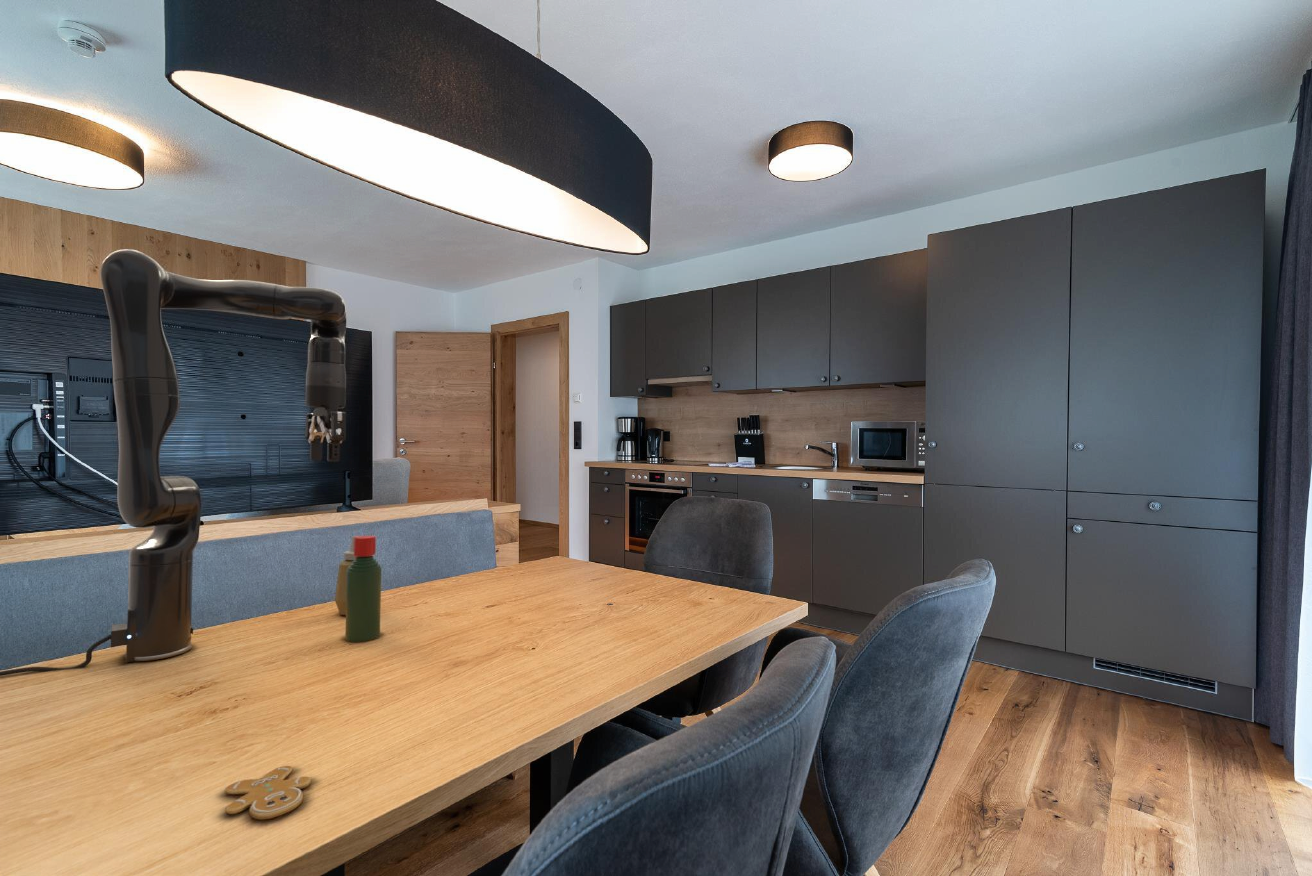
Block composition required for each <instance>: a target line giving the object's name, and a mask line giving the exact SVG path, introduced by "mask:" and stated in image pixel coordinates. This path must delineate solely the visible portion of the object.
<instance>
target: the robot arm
mask: <svg viewBox="0 0 1312 876" xmlns="http://www.w3.org/2000/svg"><path fill="white" fill-rule="evenodd" d="M99 277H100V281H101V286H102V290H103V294H104V298H105V303H106V307H107V312H108V317H109V322H110V339H111V340H110V346H111V363H112V385H113V395H114V404H115V410H116V411H115V412H116V420H117V421H116V422H117V437H118V438H117V439H118V463H117V464H118V465H117V466H118V467H117V489H116V491H117V492H116V493H117V495H116V497H117V507H118V511H119V515H120V516H121V518H122V520H123V521H124V522H125V523H126V524H127V525H129V526H130V527H132V528H136V529H145V528H153V529H152V533H151V534H150V535H149V536H148V537H147V538H146V539H145V540H143V541H142V542H140V543H138V544H136V545H135V546H133V547H132V548H131V549H130V551H129V554H128V586H127V587H128V589H127V590H128V591H127V613H126V615H127V616H126V622H124V623H117V624H111V629H110V634H109V635H107V636H105V637H103V638H101V639H100V640H98V641H96V642H94V643H93V644H91V646H89V647H88V649H87V651H86V654H85V660H84V661H83V662H81V663H79V664H78V665H74V666H71V667H50V666H29V667H28V666H27V667H21V668H14V669H6V670H1V671H0V677H2V676H9V675H14V674H23V673H29V672H54V671H62V670H74V669H81V668H85V667H87V666H88V665H89V664H91V661H92V660H93V659H92V658H93V651H94V650H95V649H96V648H97V647H99V646H100V645H103V644H104V643H106V642H108V641H109V640H110V648H115V647H122V646H125V647H126V648H125V649H126V651H125V663H134V662H150V661H157V660H163V659H167V658H171V657H175V656H179V655H182V654H185V653H186V652H188V651H190V650H191V649H192V635H194V628H193V627H192V619H193V618H192V615H193V583H194V582H193V579H194V578H193V577H194V551H195V549H196V548H197V545H198V543H199V538H200V528H201V516H202V506H203V505H202V493H201V490H200V487H199V486H198V484H197V482H196V481H195V480H193V479H192V478H190V477H189V476H185V475H164V476H163V475H162V476H161V470H160V452H161V447H162V444H163V442H164V440H165V437H166V435H167V434H168V432H169V431H170V429H171V427H172V425H173V424H174V422H175V420H176V419H177V416H178V415H179V411H180V406H181V397H180V386H179V377H178V371H177V367H176V364H175V360H174V358H173V354H172V352H171V349H170V345H169V343H168V340H167V338H166V335H165V332H164V328H163V323H162V322H163V321H162V310H198V311H213V312H222V313H231V314H237V315H238V314H239V315H246V316H252V317H253V316H254V317H260V318H269V319H276V320H291V319H301V320H310V338H309V340H308V345H307V364H306V365H307V367H306V372H305V395H304V396H305V400H304V402H305V403H304V405H305V407H308V408H312V409H313V412H307V413H306V414H305V431H304V432H305V433H304V438H305V439H304V440H305V441H308V443H309V444H310V446H309V449H310V450H309V459H310V461H312V462H314V461H315V462H316V461H317V462H320V461H322V460H323V446H324V445H323V442H324V438H325V439H326V442H327V447H326V448H327V449H326V460H327V462H331V463H332V462H334V463H335V462H339V461H340V460H341V444H342V443H343V441H346V439H347V413H346V412H345V411H339V409H344V408H346V402H347V401H346V400H347V371H346V343H345V340H346V333H347V332H346V331H347V321H348V320H347V319H348V312H347V306H346V302H345V300H344V298H343V297H342V296H341V295H340V294H338V293H337V292H336V291H333V290H332V289H331V290H330V289H326V288H321V287H312V286H311V287H310V286H286V285H282V284H276V283H271V282H263V281H258V280H257V281H256V280H249V279H248V280H246V279H223V280H211V279H200V278H195V277H189V276H185V275H181V274H176V273H173V272H170V271H167V270H165V269H164V268H163V267H162V266H161V265H160V264H159V263H158V262H157V261H156V260H155V259H153V257H150V256H149V255H147V254H145V253H143V252H141V251H138V250H135V249H129V248H128V249H119V250H116V251H114V252H112V253H109V255H108V256H107V257H106V258H105V259H104V260H103V262H102V264H101V265H100V271H99Z"/></svg>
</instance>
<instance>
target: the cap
mask: <svg viewBox="0 0 1312 876" xmlns="http://www.w3.org/2000/svg"><path fill="white" fill-rule="evenodd" d="M356 536H357V537H354V556H358V557H364V556H375V555H376V544H377V543H376V541H377V539H376V535H356Z"/></svg>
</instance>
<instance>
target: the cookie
mask: <svg viewBox="0 0 1312 876" xmlns="http://www.w3.org/2000/svg"><path fill="white" fill-rule="evenodd" d="M293 770H294V766H291V765H284V766H279V767H276V768H274V769H272V770H271V771H269V772H268V773H266V774H265V775H264V776H262V777H260V778H252V779H251V778H250V779H243V780H238V781H235V782H233V783H232V784H230V785H228V786H227V787H225V789H224V793H225V794H227V795H243V796H240V797H239V798H237V799H235V800H234V801H232V802H231V803H229V804H228V805H227V806H226V807H225V808H224V811H225V813H226V814H228V815H235V814H238V813H241V812H243V811H245V810H246V809H248V808H249V810H248V813H249V816H250V817H252V818H253V819H255V820H269V819H273V818H277V817H280V816H282V815H284V814H288V813H289V812H291V811H293V810H295V809H296V808H297V807H299V806H300V805H301V803H302V802H303V799H304V793H303V791H302V790H301V789H305V788H307V787H308V786H309V785H310V784H311V783H312V777H310V776H299V777H294V778H289V779H286V778H287V777H288V776H289V775H290V774H291V773H292V772H293Z"/></svg>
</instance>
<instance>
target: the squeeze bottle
mask: <svg viewBox="0 0 1312 876" xmlns="http://www.w3.org/2000/svg"><path fill="white" fill-rule="evenodd" d="M357 536H358V535H352V538H351V542H350V546H349V548H348V550H346V551H344V552H343V560H342V561H341V562H340V563H339V564H338V572H337V579H336V588H335V595H334V602H335V605H336V607H337V610H338V613H339V614H340V615H342V616H346V583H347V570H348V567H349V566H351V563H353V560H355V558H356V557H358V556H354V537H357Z"/></svg>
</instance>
